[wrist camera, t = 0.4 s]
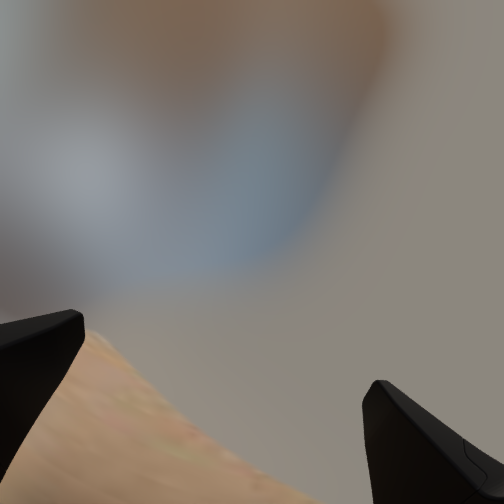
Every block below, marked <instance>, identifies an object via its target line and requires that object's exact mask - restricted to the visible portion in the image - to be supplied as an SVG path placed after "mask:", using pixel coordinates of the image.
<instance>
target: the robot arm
mask: <svg viewBox="0 0 504 504" xmlns="http://www.w3.org/2000/svg"><path fill="white" fill-rule="evenodd" d="M84 340H85V328H84V317H83V314H82V313H80V312H78V311H76V310H73V309H69V310H65V311H60V312H55V313H51V314H46V315H42V316H37V317H33V318H28V319H23V320H18V321H14V322H9V323H4V324H0V483H1V481H2V479H3V477H4V475H5V473H6V471H7V469H8V467H9V465H10V464H11V462H12V460H13V458H14V456H15V455H16V453H17V451H18V449H19V448H20V446H21V444H22V442H23V441H24V439H25V437H26V436H27V434H28V432H29V431H30V429H31V427H32V426H33V424H34V423H35V421H36V419H37V418H38V416H39V415H40V413H41V411H42V410H43V408H44V407H45V405H46V404H47V402H48V401H49V399H50V398H51V396H52V395H53V393H54V392H55V390H56V389H57V387H58V386H59V384H60V383H61V381H62V380H63V378H64V377H65V375H66V373H67V372H68V370H69V368H70V366H71V364H72V362H73V360H74V359H75V357H76V355H77V353H78V351H79V350H80V348H81V346H82V344H83V343H84ZM362 411H363V423H364V440H365V449H366V455H367V461H368V468H369V474H370V480H371V488H372V496H373V504H504V464H502V463H500V462H499V461H497V460H495V459H493V458H492V457H490V456H489V455H487V454H486V453H484V452H482V451H481V450H479V449H478V448H476V447H475V446H474V445H472V444H471V443H469V442H468V441H466V440H465V439H463V438H462V437H461V436H460V435H459V434H457V433H456V432H454V431H453V430H452V429H451V428H449V427H448V426H446V425H445V424H444V423H442V422H441V421H440V420H438V419H437V418H436V417H434V416H433V415H432V414H430V413H429V412H428V411H427V410H425V409H424V408H422V407H421V406H420V405H418V404H417V403H416V402H415V401H413V400H412V399H410V398H409V397H408V396H407V395H405V394H404V393H403V392H401V391H400V390H399V389H398V388H396V387H395V386H394V385H392V384H391V383H390V382H388V381H386V380H376V381H374V382H373V383H372V385H371V387H370V389H369V390H368V392H367V394H366V395H365V397H364V399H363V402H362Z"/></svg>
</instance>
